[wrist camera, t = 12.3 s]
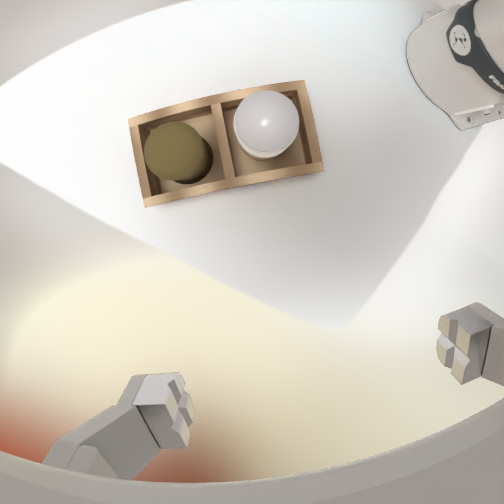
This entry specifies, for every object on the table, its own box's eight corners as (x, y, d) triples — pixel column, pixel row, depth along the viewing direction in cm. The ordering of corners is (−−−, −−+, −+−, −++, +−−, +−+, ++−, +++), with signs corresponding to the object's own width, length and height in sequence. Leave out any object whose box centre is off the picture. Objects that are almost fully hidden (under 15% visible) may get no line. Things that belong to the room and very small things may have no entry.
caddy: (297, 92, 33) (304, 80, 28) (314, 172, 35) (323, 171, 30) (143, 125, 34) (127, 119, 29) (158, 203, 36) (144, 207, 31)
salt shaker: (281, 110, 33) (293, 83, 23) (291, 156, 34) (307, 146, 24) (233, 119, 33) (226, 95, 23) (243, 165, 34) (240, 159, 24)
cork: (158, 138, 33) (130, 121, 22) (210, 129, 33) (202, 107, 23) (165, 188, 34) (139, 191, 24) (216, 180, 35) (212, 179, 24)
